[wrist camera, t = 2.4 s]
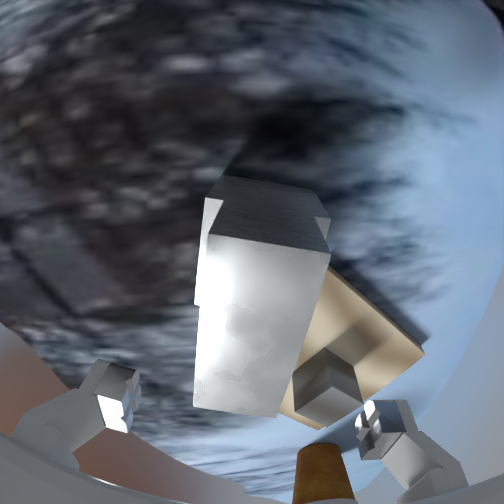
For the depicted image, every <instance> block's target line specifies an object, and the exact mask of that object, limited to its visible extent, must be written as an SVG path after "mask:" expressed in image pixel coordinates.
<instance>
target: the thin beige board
mask: <svg viewBox="0 0 504 504" xmlns="http://www.w3.org/2000/svg"><path fill="white" fill-rule="evenodd" d="M424 355H425V353H424V351H423V349H422V347H421V345H419V344H418V343H417V342H416V341H415V340H414V339H413V338H412V337H411V336H410V335H408V334H407V333H406V332H405V331H404V330H403V329H402V328H401V327H399V326H398V325H397V324H396V323H395V322H394V321H393V320H392V319H390V318H389V317H388V316H387V315H386V314H385V313H384V312H383V311H381V310H380V309H379V308H378V307H377V306H376V305H375V304H373V303H372V302H371V301H370V300H369V299H368V298H367V297H365V296H364V295H363V294H362V293H361V292H360V291H358V290H357V289H356V288H355V287H354V286H353V285H351V284H350V283H349V282H348V281H347V280H346V279H344V278H343V277H342V276H341V275H340V274H339V273H337V272H336V271H335V270H334V269H333V268H331V267H330V266H329V265H328V268H327V271H326V275H325V278H324V281H323V285H322V288H321V291H320V294H319V297H318V301H317V304H316V307H315V310H314V313H313V316H312V319H311V322H310V325H309V328H308V331H307V334H306V337H305V340H304V343H303V346H302V349H301V352H300V355H299V358H298V360H297V363H296V366H295V369H294V372H293V374H292V377H291V380H290V382H289V385H288V388H287V390H286V393H285V396H284V398H283V401H282V403H281V406H280V409H279V411H278V412H279V413H281V414H283V415H285V416H288V417H290V418H292V419H294V420H296V421H298V422H301V423H303V424H305V425H307V426H310V427H312V428H314V429H316V430H319V429H321V428H323V427H324V426H326V427H328V426H330V425H332V424H333V423H335V422H337V421H338V420H340V419H341V418H343V417H345V416H346V415H348V414H349V413H351V412H352V411H354V410H355V409H357V408H358V407H360V406H361V405H363V404H364V403H363V401H365V400H366V399H368V398H369V397H371V396H372V395H373V394H375V393H376V392H378V391H379V390H380V389H382V388H383V387H385V386H386V385H387V384H389V383H390V382H391V381H393V380H394V379H395V378H397V377H398V376H399V375H401V374H402V373H403V372H404V371H406V370H407V369H408V368H409V367H411V366H412V365H413V364H414V363H416V362H417V361H418V360H419V359H421V358H422V357H423V356H424Z"/></svg>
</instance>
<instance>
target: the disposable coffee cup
mask: <svg viewBox="0 0 504 504" xmlns="http://www.w3.org/2000/svg"><path fill="white" fill-rule="evenodd" d="M292 504H358V502H357V501H356V500H355V498H354V494H353V491H352V488H351V484H350V481H349V478H348V475H347V471H346V468H345V465H344V462H343V459H342V456H341V453H340V449H339V447H338V446H337V445H334V444H331V443H319V444H313V445H310V446H307V447H305V448H303V449H301V450H300V451H299V452H298V454H297V465H296V475H295V484H294V493H293V501H292Z"/></svg>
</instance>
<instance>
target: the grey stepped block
mask: <svg viewBox="0 0 504 504" xmlns="http://www.w3.org/2000/svg"><path fill="white" fill-rule="evenodd" d="M330 223H331V218H330V216H329V215H328V213H327V211H326V210H325V208H324V206H323V205H322V203H321V202H320V200H319V198H318V197H317V195H316V194H315V192H314V190H310V189H305V188H299V187H294V186H289V185H283V184H278V183H272V182H267V181H261V180H255V179H249V178H243V177H236V176H230V175H223V174H222V175H221V176H220V178H219V179H218V181H217V182H216V183H215V185H214V186H213V188H212V189H211V190H210V192H209V193H208V195H207V196H206V197H205V205H204V214H203V223H202V232H201V241H200V251H199V261H198V271H197V282H196V294H195V305H200V316H199V327H198V339H197V352H196V366H195V381H194V397H193V406H194V407H200V408H205V409H211V410H217V411H224V412H231V413H238V414H245V415H254V416H262V417H272V418H276V416H277V414H278V411H279V409H280V406H281V403H282V401H283V398H284V396H285V393H286V390H287V388H288V385H289V382H290V380H291V377H292V374H293V372H294V369H295V366H296V363H297V360H298V358H299V355H300V352H301V349H302V346H303V343H304V340H305V337H306V334H307V331H308V328H309V325H310V322H311V319H312V316H313V313H314V310H315V307H316V304H317V301H318V297H319V294H320V291H321V288H322V285H323V281H324V278H325V275H326V271H327V268H328V264H329V261H330V258H331V252H330V250H329V248H328V245H327V243H326V238H327V234H328V230H329V226H330Z"/></svg>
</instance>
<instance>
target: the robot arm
mask: <svg viewBox="0 0 504 504" xmlns="http://www.w3.org/2000/svg"><path fill="white" fill-rule="evenodd" d="M139 378H140V376H139V371H138V370H135V369H132V368H128V367H125V366H121V365H118V364H115V363H111V362H108V361H105V360H101V359H98V360H97V361H95V363H94V365H93V366H92V368H91V370H90V371H89V373H88V375H87V376H86V378H85V380H84V381H83V383H82V385H81V386H80V388H79V389H76V388H75V389H73V390H71V391H69V392H67V393H64V394H62V395H60V396H58V397H56V398H54V399H52V400H50V401H48V402H46V403H44V404H42V405H39V406H37V407H35V408H33V409H31V410H29V411H26V412H25V413H24V415H23V416H22V418H21V420H20V421H19V423H18V424H17V426H16V428H15V429H14V431H13V433H12V434H11V436H10V437H8V436H6V435H5V434H3V433H1V432H0V504H189V503H184V502H180V501H174V500H170V499H165V498H161V497H157V496H153V495H149V494H145V493H142V492H138V491H134V490H131V489H128V488H125V487H121V486H118V485H115V484H112V483H109V482H106V481H103V480H100V479H98V478H95V477H92V476H90V475H87V474H84V473H82V472H79V471H78V469H79V464H78V463H77V461H76V459H75V458H74V456H73V454H72V452H73V451H74V450H76V449H77V448H78V447H80V446H81V445H83V444H84V443H86V442H87V441H88V440H90V439H91V438H93V437H94V436H95V435H97V434H98V433H99V432H101V431H102V430H104V429H105V428H106V427H108V428H112V429H115V430H118V431H122V432H126V433H128V431H129V429H130V426H131V424H132V421H133V415H132V412H134V411H136V410H137V408H138V405H139V402H140V397H141V386H140V385H139V383H138V380H139ZM364 408H365V411H364V412H362V413H361V414H359V416H358V418H357V419H356V424H355V434H356V437H357V438H358V439H359V440H360V441H361V442H360V444H359V446H358V448H359V453H360V457H361V460H376V459H381V461H382V462H383V464H384V465H385V466H386V467H387V468H388V469H389V471H390V472H391V473H392V474H393V475H394V477H395V478H396V479H397V480H398V481H399V482H400V484H401V485H402V486H403V487H404V488H405V489H406V492H405V493H404V494H402V495H401V496H400V497H399V498H398V499H397V504H504V473H503V474H501V475H498V476H496V477H493V478H491V479H488V480H485V481H483V482H480V483H477V484H474V485H471V486H469V485H468V483H467V480H466V477H465V474H464V472H463V469H462V467H461V464H460V462H459V461H458V460H456V459H455V458H454V457H453V456H451V455H450V454H449V453H448V452H447V451H445V450H444V449H443V448H442V447H440V446H439V445H438V444H437V443H436V442H434V441H433V440H432V439H431V438H430V437H428V436H427V435H426V434H425V433H424V432H422V431H418V428H417V426H416V423H415V420H414V418H413V415H412V413H411V410H410V408H409V405H408V403H407V401H406V400H369V401H368V402H367V403H366V405H365V406H364Z"/></svg>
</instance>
